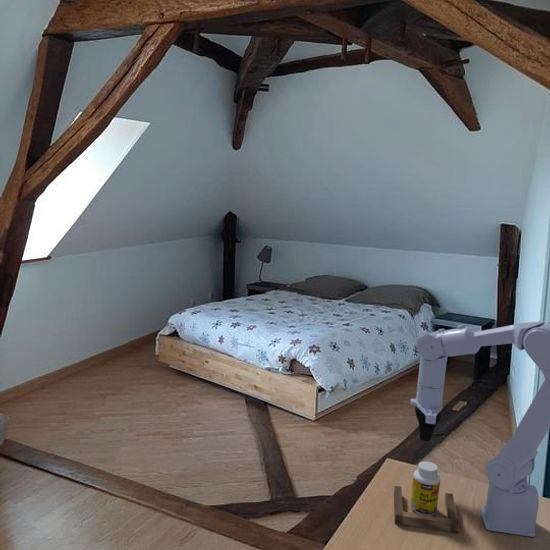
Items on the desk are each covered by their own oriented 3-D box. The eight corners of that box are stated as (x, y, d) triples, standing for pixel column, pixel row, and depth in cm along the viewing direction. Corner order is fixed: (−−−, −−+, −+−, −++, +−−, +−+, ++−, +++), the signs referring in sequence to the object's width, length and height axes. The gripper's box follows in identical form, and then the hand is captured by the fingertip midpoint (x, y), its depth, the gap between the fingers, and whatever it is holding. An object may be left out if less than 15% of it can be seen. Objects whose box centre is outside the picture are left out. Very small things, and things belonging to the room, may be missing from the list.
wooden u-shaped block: (451, 502, 126) (452, 493, 125) (458, 533, 115) (459, 524, 115) (393, 493, 128) (394, 485, 127) (394, 523, 117) (395, 514, 117)
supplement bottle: (415, 517, 120) (420, 473, 118) (406, 502, 125) (410, 459, 123) (440, 517, 120) (446, 472, 118) (430, 501, 126) (435, 458, 124)
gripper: (411, 370, 137) (405, 423, 139) (414, 394, 123) (408, 452, 125) (441, 374, 136) (435, 427, 138) (448, 398, 122) (441, 456, 124)
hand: (424, 439), depth 132 cm, fingers closed
